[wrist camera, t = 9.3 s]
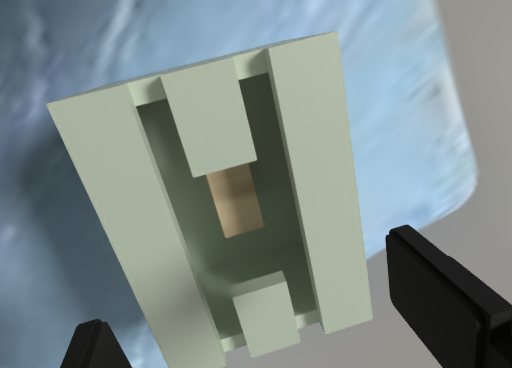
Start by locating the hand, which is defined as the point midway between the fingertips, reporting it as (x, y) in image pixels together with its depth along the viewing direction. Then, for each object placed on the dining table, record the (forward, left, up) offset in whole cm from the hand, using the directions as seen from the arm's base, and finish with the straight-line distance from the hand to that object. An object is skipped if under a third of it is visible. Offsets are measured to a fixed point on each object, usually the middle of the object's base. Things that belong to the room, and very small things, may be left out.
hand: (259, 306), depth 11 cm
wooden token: (+3, 0, -12) cm, 12 cm away
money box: (+1, 0, -15) cm, 15 cm away
